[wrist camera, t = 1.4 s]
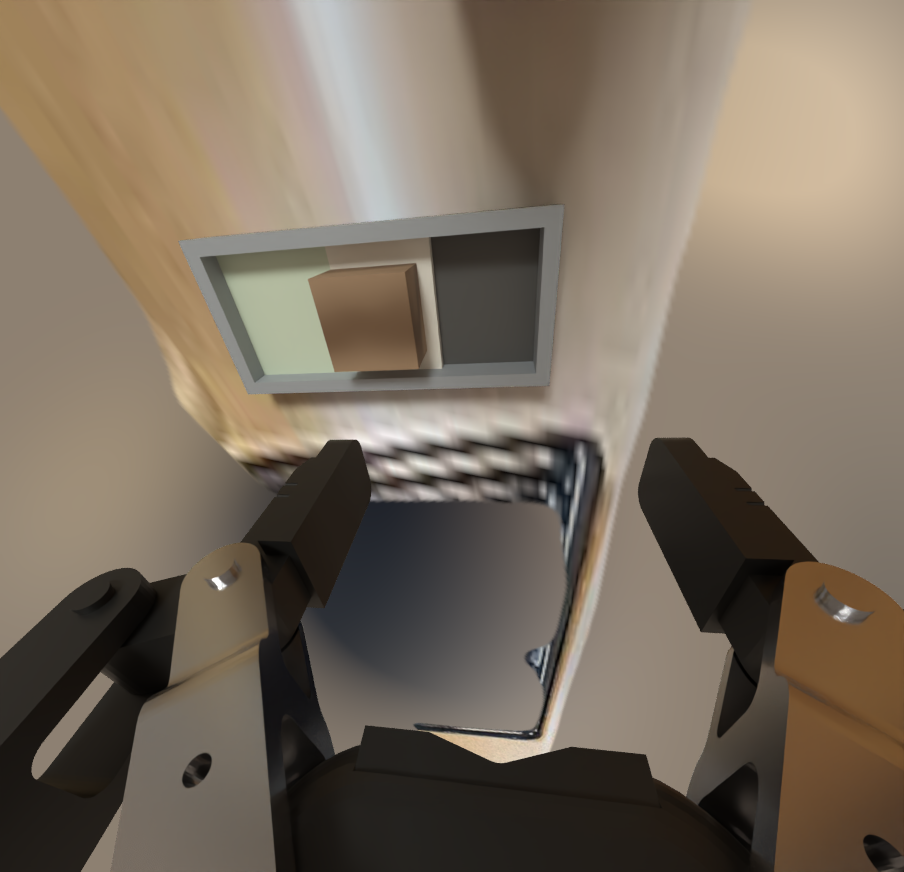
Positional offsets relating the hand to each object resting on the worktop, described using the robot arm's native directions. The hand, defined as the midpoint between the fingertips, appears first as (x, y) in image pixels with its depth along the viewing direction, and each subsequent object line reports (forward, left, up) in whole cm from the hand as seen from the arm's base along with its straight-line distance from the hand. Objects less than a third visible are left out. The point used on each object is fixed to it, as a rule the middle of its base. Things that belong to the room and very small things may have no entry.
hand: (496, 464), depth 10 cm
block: (0, -8, -17) cm, 19 cm away
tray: (0, -8, -18) cm, 20 cm away
